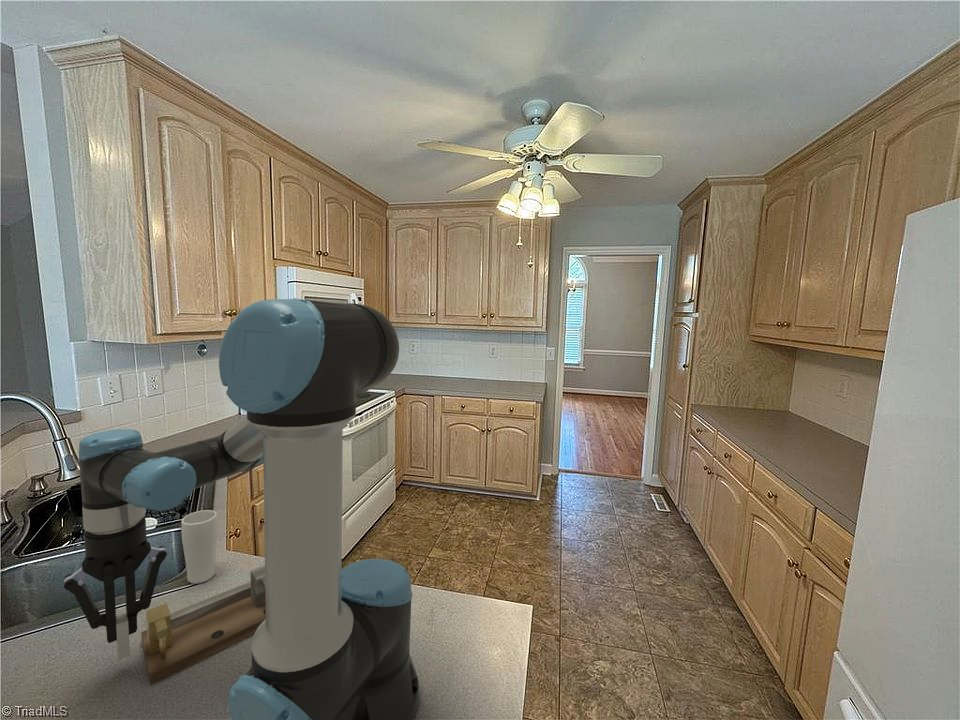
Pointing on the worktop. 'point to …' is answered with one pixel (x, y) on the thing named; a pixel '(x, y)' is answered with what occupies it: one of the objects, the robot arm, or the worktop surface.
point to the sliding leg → (158, 630)
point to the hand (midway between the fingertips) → (123, 653)
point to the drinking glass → (199, 545)
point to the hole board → (210, 627)
